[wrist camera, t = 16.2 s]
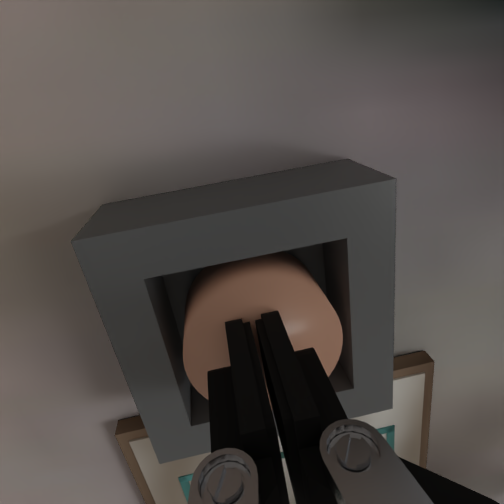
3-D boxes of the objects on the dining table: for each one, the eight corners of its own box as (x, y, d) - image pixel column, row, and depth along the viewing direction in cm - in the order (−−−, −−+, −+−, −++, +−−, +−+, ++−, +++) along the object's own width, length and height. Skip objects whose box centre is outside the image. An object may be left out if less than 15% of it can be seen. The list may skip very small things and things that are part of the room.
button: (312, 233, 12) (338, 264, 10) (322, 346, 15) (346, 393, 12) (169, 262, 12) (164, 300, 10) (201, 373, 14) (202, 427, 12)
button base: (348, 158, 13) (396, 178, 10) (355, 350, 17) (392, 408, 14) (102, 204, 13) (70, 241, 9) (166, 392, 16) (159, 463, 13)
